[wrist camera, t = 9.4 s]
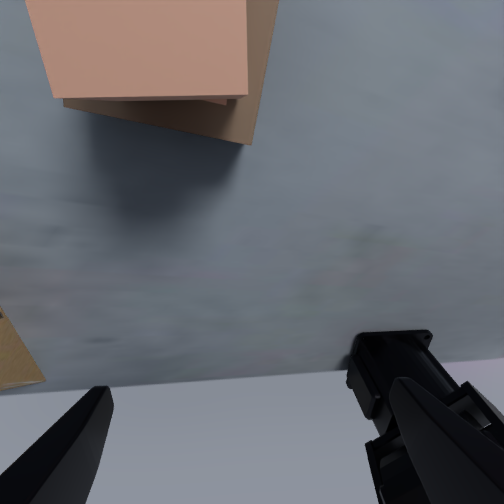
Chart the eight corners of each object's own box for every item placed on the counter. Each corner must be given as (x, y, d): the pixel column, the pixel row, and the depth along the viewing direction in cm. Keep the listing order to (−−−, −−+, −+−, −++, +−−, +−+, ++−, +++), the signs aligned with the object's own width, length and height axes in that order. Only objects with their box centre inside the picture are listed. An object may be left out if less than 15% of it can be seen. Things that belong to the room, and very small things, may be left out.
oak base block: (278, -44, 13) (299, -102, 10) (245, 137, 17) (251, 146, 13) (95, -103, 12) (36, -198, 8) (101, 106, 15) (61, 106, 12)
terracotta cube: (233, -66, 10) (241, -208, 5) (239, 98, 12) (248, 94, 8) (83, -70, 9) (-42, -225, 5) (117, 101, 12) (54, 98, 7)
